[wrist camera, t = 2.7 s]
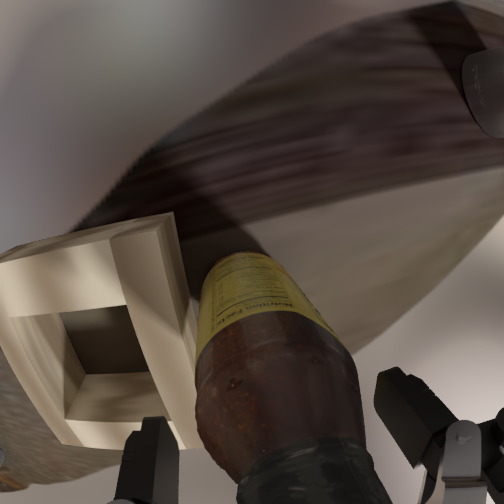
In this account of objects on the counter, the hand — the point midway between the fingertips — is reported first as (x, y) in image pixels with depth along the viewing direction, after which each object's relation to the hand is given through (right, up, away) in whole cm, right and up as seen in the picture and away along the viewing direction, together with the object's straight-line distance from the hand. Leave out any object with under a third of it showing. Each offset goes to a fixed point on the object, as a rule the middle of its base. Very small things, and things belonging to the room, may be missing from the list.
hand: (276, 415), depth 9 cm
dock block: (-12, 0, +11) cm, 16 cm away
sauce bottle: (-1, +3, +12) cm, 13 cm away
